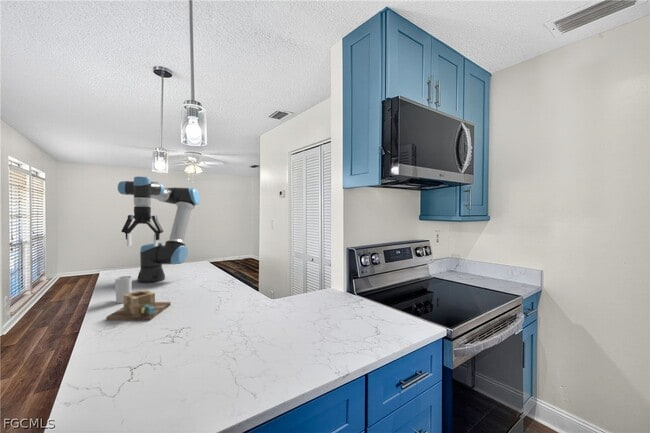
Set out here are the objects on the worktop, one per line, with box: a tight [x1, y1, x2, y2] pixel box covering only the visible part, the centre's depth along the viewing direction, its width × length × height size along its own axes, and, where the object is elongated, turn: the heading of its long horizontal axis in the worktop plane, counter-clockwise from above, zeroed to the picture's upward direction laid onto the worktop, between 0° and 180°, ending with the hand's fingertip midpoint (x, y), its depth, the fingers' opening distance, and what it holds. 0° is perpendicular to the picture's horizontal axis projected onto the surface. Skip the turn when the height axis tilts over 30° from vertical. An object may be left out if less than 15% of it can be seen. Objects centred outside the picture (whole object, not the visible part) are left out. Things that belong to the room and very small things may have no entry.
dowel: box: [141, 307, 145, 316], centre depth 123 cm, size 1×1×4 cm
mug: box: [114, 275, 133, 304], centre depth 144 cm, size 10×7×12 cm, turn 66°
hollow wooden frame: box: [123, 289, 156, 315], centre depth 129 cm, size 16×9×7 cm, turn 59°
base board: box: [105, 301, 172, 321], centre depth 131 cm, size 18×18×2 cm
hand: (142, 246), depth 152 cm, fingers open, 13 cm apart
